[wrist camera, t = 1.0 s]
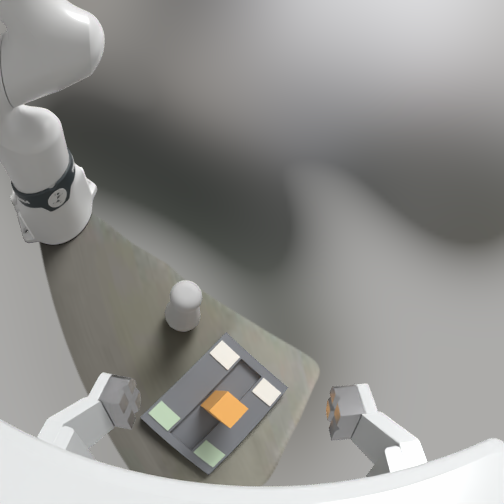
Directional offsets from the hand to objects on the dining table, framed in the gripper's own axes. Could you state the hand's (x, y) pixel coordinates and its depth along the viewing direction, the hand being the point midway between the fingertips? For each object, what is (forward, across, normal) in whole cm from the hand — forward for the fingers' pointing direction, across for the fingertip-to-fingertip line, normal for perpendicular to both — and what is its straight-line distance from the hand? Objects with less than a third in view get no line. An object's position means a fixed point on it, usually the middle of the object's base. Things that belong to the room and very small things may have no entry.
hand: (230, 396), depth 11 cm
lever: (+22, +5, +29) cm, 36 cm away
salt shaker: (+32, +12, +19) cm, 39 cm away
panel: (+22, +6, +30) cm, 38 cm away
